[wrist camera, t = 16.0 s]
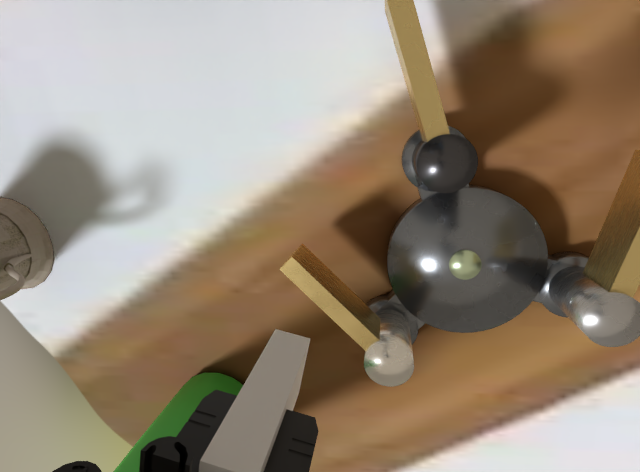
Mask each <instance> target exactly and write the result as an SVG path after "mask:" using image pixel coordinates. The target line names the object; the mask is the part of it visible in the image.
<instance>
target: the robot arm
mask: <svg viewBox="0 0 640 472" xmlns="http://www.w3.org/2000/svg"><path fill="white" fill-rule="evenodd" d="M309 343H310V338H307V337H303V336H299V335H296V334H292V333H288V332H285V331H281V330H277V329H275V331H274V333H273V334H272V336H271V338H270V340H269V341H268V343H267V345H266V347H265V348H264V350H263V352H262V354H261V355H260V357H259V359H258V361H257V362H256V364H255V366H254V368H253V369H252V371H251V373H250V375H249V376H248V378H247V380H246V381H245V383H244V385H243V387H242V388H241V390H240V392H239V394H238V395H237V396H236V395H233V394H230V393H226V392H223V391H220V390H214V391H213V392H211V393H210V394H208V395H207V396H205V397H204V398H203V399H202V401H201V402H200V403H199V405H198V406H197V408H196V409H195V412H193V413H192V415H191V416H190V418H189V419H188V422H186V423H185V425H184V426H183V428H182V429H181V431H180V432H179V434H178V435H177V436H176V437H172V436H167V437H161V438H158V439H155V440H153V441H151V442H149V443H148V444H147V445H146V446H145V447H144V448H143V449H141V453H140V468H139V472H309V469H310V465H311V460H312V456H313V452H314V447H315V443H316V439H317V435H318V428H317V424H316V420H315V417H311V416H308V415H304V414H301V413H298V412H294V411H293V409H294V406H295V403H296V400H297V397H298V394H299V390H300V386H301V381H302V376H303V372H304V367H305V362H306V357H307V353H308V348H309ZM53 472H101V470H100V469H99V467H98V466H97V465H96V464H93V463H91V462H88V461H76V462H72V463H69V464H65V465H63V466H61V467H60V468H58V469H56V470H54V471H53Z"/></svg>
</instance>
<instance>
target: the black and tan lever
mask: <svg viewBox="0 0 640 472" xmlns="http://www.w3.org/2000/svg"><path fill="white" fill-rule="evenodd" d="M385 13H386V17H387V20H388V24H389V27H390V31H391V34H392V37H393V41H394V44H395V48H396V51H397V55H398V58H399V62H400V65H401V69H402V72H403V75H404V79H405V82H406V86H407V89H408V93H409V96H410V100H411V103H412V107H413V110H414V113H415V117H416V120H417V124H418V127H419V131H420V134H421V138H422V140H421V141H420V142H419V143H418V144H417V146H416V147H415V149H414V151H413V154H412V166H413V169H414V171H415V173H416V174H417V175H418V177H419V178H420V179H421V181H422V182H423V183H424V184H425V186H427V187H428V188H429V189H431V190H433V191H435V192H439V193H452V192H455V191H458V190H460V189H462V188H463V187H465V186H466V185H467V184H468V183H469V182H470V181H471V180H472V179H473V177H474V175H475V173H476V170H477V166H478V157H477V153H476V150H475V148H474V147H473V145H472V144H471V143H470V142H469V141H468V140H467V139H465V138H463V137H461V136H459V135H455V134H450V132H449V129H448V125H447V121H446V118H445V114H444V110H443V107H442V103H441V99H440V96H439V92H438V89H437V85H436V81H435V78H434V74H433V70H432V67H431V63H430V59H429V56H428V52H427V48H426V45H425V41H424V38H423V34H422V30H421V27H420V23H419V19H418V16H417V12H416V8H415V5H414V1H413V0H385Z"/></svg>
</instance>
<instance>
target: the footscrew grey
mask: <svg viewBox="0 0 640 472" xmlns="http://www.w3.org/2000/svg"><path fill="white" fill-rule="evenodd" d="M639 284H640V150H635V152H634V155H633V157H632V159H631V161H630V164H629V166H628V168H627V171H626V173H625V175H624V178H623V180H622V182H621V185H620V187H619V189H618V192H617V194H616V196H615V199H614V201H613V203H612V206H611V208H610V210H609V213H608V215H607V217H606V220H605V222H604V224H603V226H602V229H601V231H600V233H599V236H598V238H597V240H596V243H595V245H594V247H593V250H592V252H591V254H590V257H589V259H588V261H587V264H586V266H585V267H580V266H572V267H568V268H565V269H562V270H561V271H559V272H558V273H556V274H555V275H554V277H553V278H552V279H551V281H550V283H549V288H548V291H549V296H550V298H551V300H552V301H553V302H554V303H555V304H556V305H557V306H558V307H559V308H560V309H561V310H562V311H563V312H564V313H565V314H566V315H567V316H568V317H569V318H570V319H571V320H572V321H573V322H574V323H575V324H576V325H577V326H578V327H579V328H580V329H581V330H582V331H583V332H584V333H585V334H586V335H587V336H588V337H589V338H590V339H591V340H592V341H593V342H595V343H597V344H599V345H602V346H607V347H618V346H623V345H626V344H628V343H631V342H632V341H634V340H635V339H637V338H638V337H639V336H640V303H639V302H638V301H636V300H635V299H633V296H634V294H635V292H636V290H637V288H638V286H639Z"/></svg>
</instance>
